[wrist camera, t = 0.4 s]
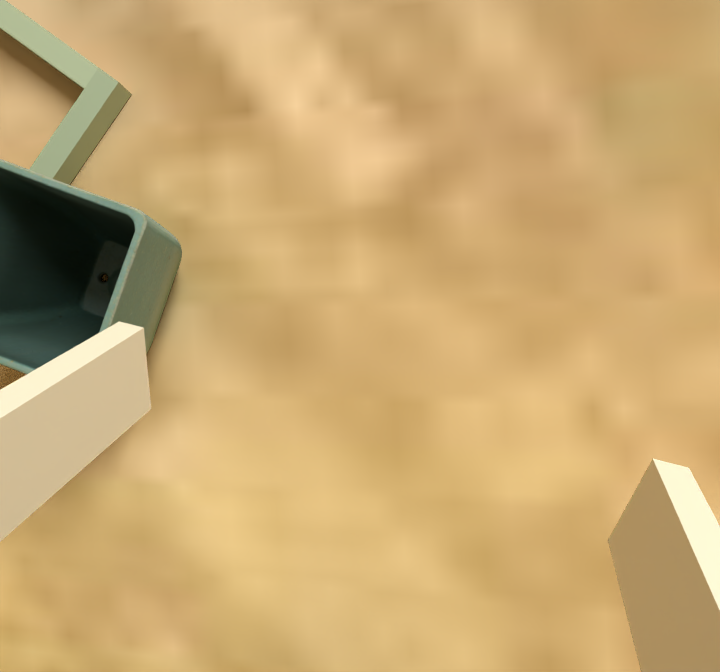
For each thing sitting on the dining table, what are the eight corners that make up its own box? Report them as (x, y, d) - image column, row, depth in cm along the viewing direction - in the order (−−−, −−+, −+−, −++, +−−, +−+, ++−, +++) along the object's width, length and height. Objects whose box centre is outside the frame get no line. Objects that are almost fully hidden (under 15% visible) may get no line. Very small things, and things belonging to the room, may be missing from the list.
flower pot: (171, 377, 30) (83, 399, 21) (44, 329, 30) (-96, 330, 21) (218, 247, 30) (149, 212, 21) (89, 199, 30) (-34, 145, 21)
